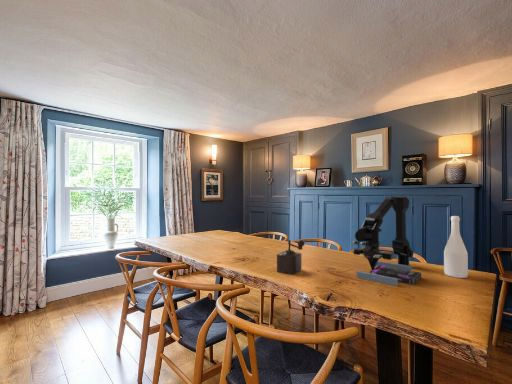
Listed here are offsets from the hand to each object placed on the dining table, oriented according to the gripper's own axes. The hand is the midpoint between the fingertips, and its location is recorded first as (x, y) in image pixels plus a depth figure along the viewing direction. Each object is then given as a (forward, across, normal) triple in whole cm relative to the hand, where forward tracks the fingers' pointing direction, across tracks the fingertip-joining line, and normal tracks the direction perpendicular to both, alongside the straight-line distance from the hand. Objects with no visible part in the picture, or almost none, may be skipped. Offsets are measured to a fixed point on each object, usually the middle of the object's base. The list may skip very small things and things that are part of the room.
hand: (372, 269), depth 138 cm
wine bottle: (+1, +33, +22) cm, 40 cm away
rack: (+1, +6, 0) cm, 6 cm away
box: (+2, +11, 0) cm, 11 cm away
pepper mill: (+2, -32, -27) cm, 42 cm away
